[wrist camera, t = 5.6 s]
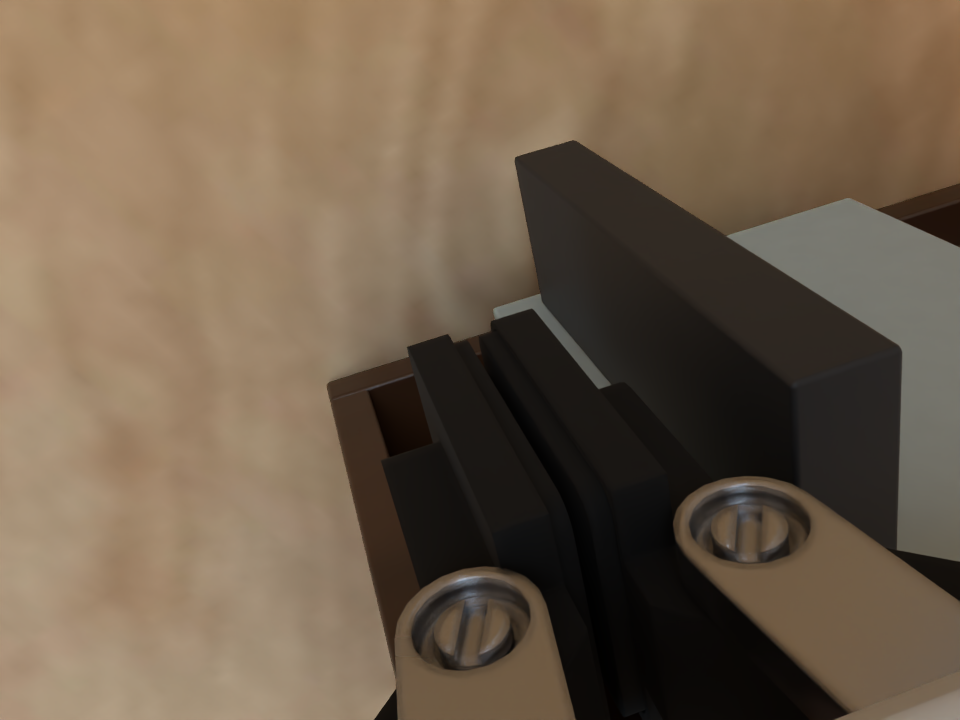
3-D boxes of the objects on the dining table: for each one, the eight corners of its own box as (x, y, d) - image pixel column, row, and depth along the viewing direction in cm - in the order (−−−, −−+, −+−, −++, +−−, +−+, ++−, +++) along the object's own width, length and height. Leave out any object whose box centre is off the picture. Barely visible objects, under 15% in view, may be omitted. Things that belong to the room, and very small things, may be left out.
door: (458, 162, 16) (730, 443, 8) (848, 51, 17) (1469, 188, 9) (497, 332, 18) (753, 715, 10) (849, 222, 19) (1368, 476, 11)
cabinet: (325, 381, 19) (461, 962, 8) (991, 171, 21) (1760, 430, 10) (434, 700, 24) (606, 1317, 13) (965, 504, 26) (1475, 905, 15)
